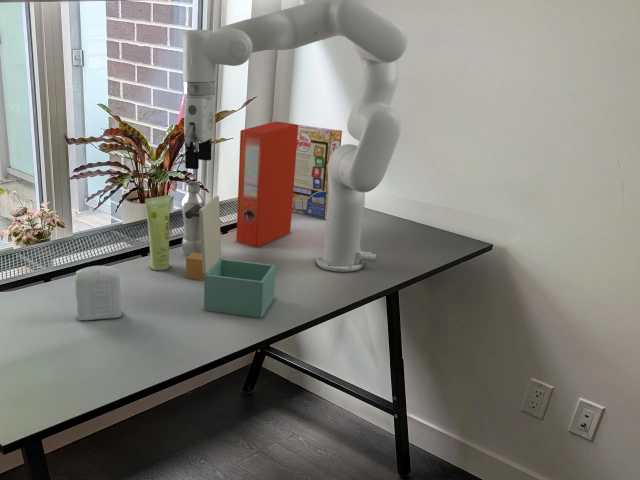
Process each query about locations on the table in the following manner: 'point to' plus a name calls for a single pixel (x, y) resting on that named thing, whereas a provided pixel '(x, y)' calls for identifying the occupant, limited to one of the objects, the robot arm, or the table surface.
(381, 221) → the table surface
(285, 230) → the file binder
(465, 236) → the table surface
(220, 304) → the open storage box
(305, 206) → the board game
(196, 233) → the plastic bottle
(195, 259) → the orange cube
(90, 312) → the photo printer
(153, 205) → the tube
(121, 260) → the table surface
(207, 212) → the lid
